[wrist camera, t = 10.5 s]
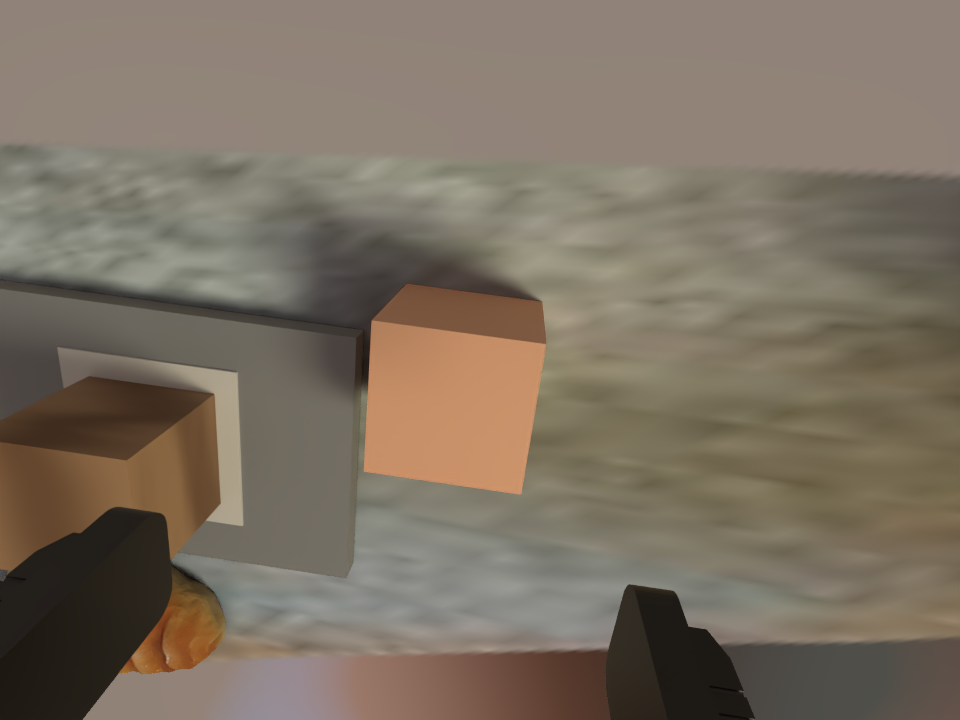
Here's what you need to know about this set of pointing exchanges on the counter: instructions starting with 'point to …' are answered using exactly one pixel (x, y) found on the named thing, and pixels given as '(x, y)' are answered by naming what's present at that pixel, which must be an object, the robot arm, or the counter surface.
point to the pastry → (181, 630)
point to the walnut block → (106, 462)
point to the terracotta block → (454, 387)
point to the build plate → (217, 407)
